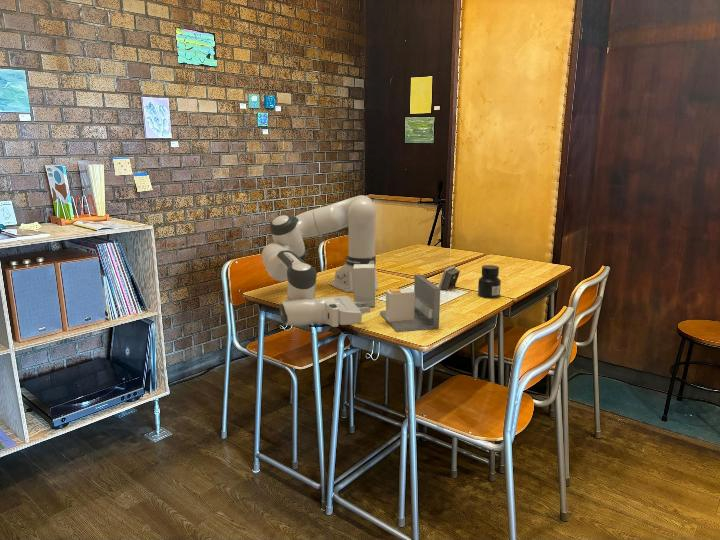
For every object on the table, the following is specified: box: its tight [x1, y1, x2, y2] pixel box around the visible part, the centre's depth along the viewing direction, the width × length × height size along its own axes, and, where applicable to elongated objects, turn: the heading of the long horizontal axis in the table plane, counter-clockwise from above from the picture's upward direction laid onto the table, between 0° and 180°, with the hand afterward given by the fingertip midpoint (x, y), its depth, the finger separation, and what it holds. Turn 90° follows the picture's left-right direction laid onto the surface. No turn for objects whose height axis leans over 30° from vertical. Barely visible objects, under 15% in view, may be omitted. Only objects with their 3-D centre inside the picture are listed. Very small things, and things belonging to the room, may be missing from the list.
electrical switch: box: [438, 265, 461, 291], centre depth 234 cm, size 9×5×9 cm, turn 145°
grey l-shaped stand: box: [379, 273, 441, 333], centre depth 192 cm, size 15×20×14 cm
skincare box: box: [353, 264, 376, 308], centre depth 210 cm, size 8×7×16 cm
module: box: [385, 287, 415, 322], centre depth 192 cm, size 9×4×11 cm, turn 104°
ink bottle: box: [477, 264, 502, 299], centre depth 224 cm, size 10×9×12 cm
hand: (368, 307), depth 189 cm, fingers open, 3 cm apart
